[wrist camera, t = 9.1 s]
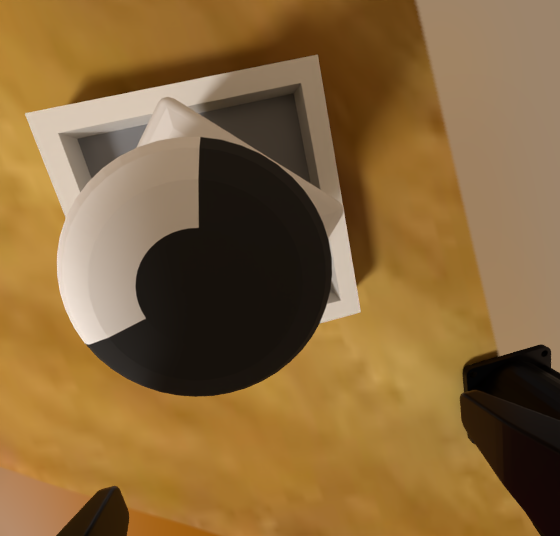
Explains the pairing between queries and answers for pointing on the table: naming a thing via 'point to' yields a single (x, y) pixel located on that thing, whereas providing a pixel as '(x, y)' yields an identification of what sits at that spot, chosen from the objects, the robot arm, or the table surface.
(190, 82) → the walled box
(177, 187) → the medicine bottle
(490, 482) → the table surface
